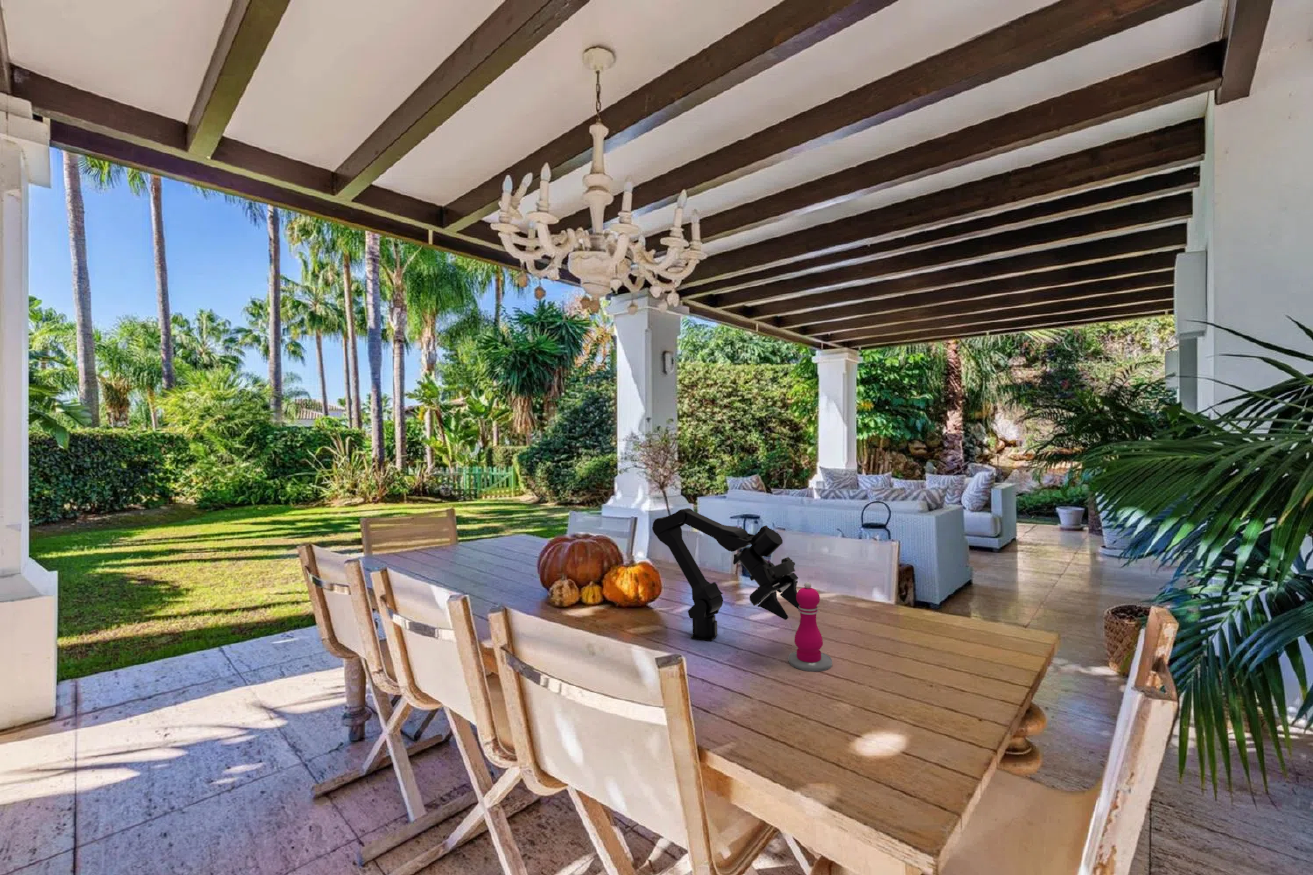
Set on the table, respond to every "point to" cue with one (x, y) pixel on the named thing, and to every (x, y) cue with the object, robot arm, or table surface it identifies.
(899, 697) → the table surface
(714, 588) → the robot arm
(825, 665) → the slate coaster
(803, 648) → the pepper mill
